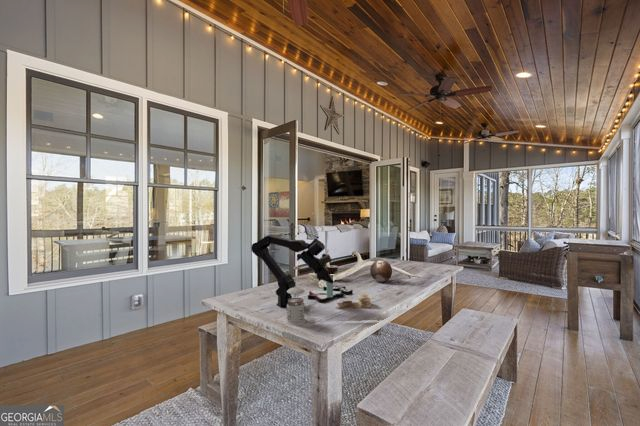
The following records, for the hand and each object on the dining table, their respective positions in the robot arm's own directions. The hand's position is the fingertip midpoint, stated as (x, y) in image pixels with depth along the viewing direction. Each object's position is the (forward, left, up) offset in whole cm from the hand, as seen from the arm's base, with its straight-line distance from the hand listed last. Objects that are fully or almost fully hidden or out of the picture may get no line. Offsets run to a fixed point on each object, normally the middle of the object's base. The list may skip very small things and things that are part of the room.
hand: (332, 281), depth 156 cm
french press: (-24, -4, -14) cm, 28 cm away
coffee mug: (+37, +48, -14) cm, 62 cm away
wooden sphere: (+62, +26, -14) cm, 69 cm away
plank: (-1, +1, -8) cm, 8 cm away
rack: (+10, -5, -13) cm, 17 cm away
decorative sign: (+11, +17, -14) cm, 25 cm away
